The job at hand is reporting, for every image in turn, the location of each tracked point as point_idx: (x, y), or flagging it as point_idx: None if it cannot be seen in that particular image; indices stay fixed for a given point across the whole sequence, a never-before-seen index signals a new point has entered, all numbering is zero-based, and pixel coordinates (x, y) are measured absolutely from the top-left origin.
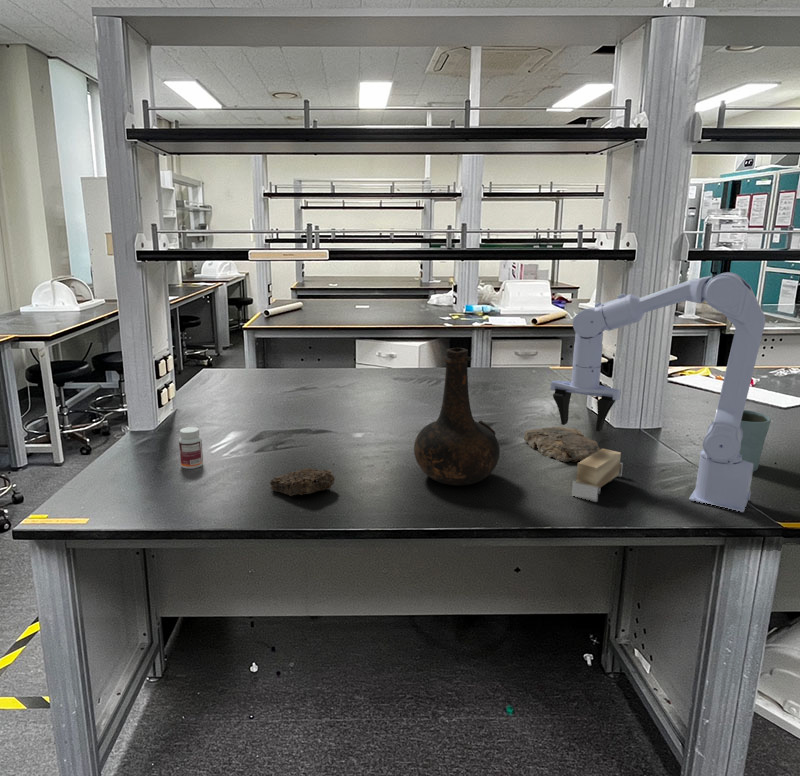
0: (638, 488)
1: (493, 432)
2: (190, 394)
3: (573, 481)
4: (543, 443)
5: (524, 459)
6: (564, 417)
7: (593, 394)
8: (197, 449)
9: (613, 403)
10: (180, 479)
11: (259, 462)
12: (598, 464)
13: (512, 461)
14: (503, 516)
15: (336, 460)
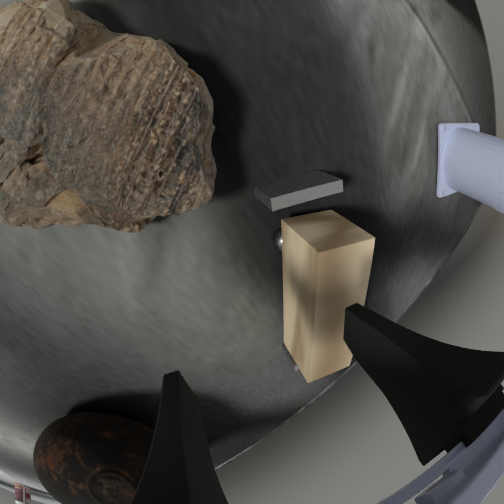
0: (369, 211)
1: (136, 488)
2: None
3: (295, 368)
4: (20, 219)
5: (56, 294)
6: (202, 429)
7: (416, 487)
8: (27, 499)
9: (486, 356)
10: (49, 495)
11: (18, 474)
12: (348, 352)
13: (59, 327)
14: (248, 432)
15: (15, 455)
